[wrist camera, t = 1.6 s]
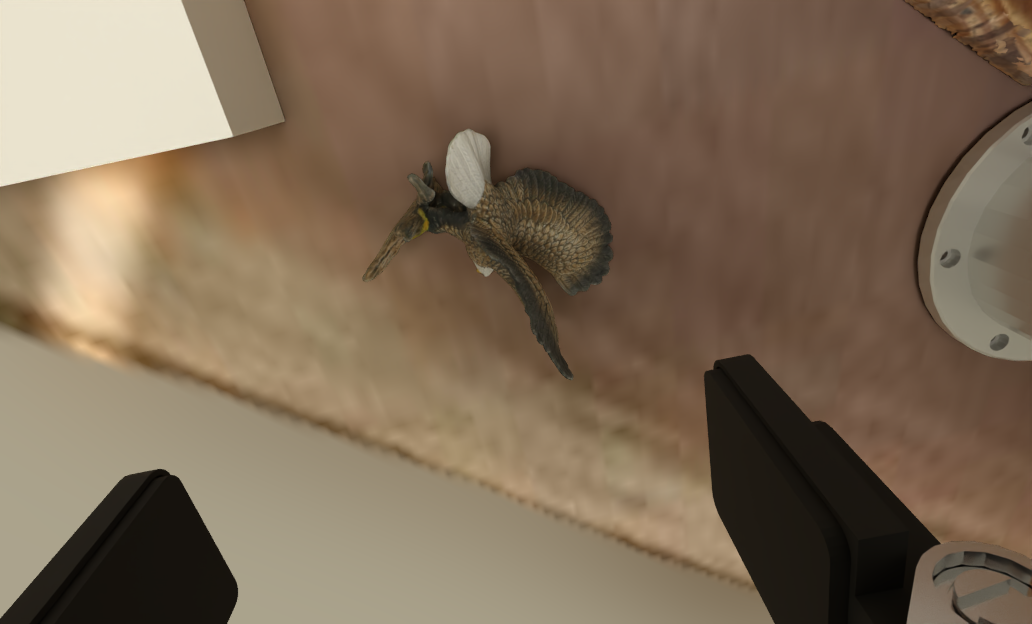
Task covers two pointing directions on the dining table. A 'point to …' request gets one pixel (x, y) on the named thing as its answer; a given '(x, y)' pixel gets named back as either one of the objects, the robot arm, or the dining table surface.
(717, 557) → the dining table surface
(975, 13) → the bird sculpture
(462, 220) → the eagle figurine
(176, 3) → the stand
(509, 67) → the dining table surface
